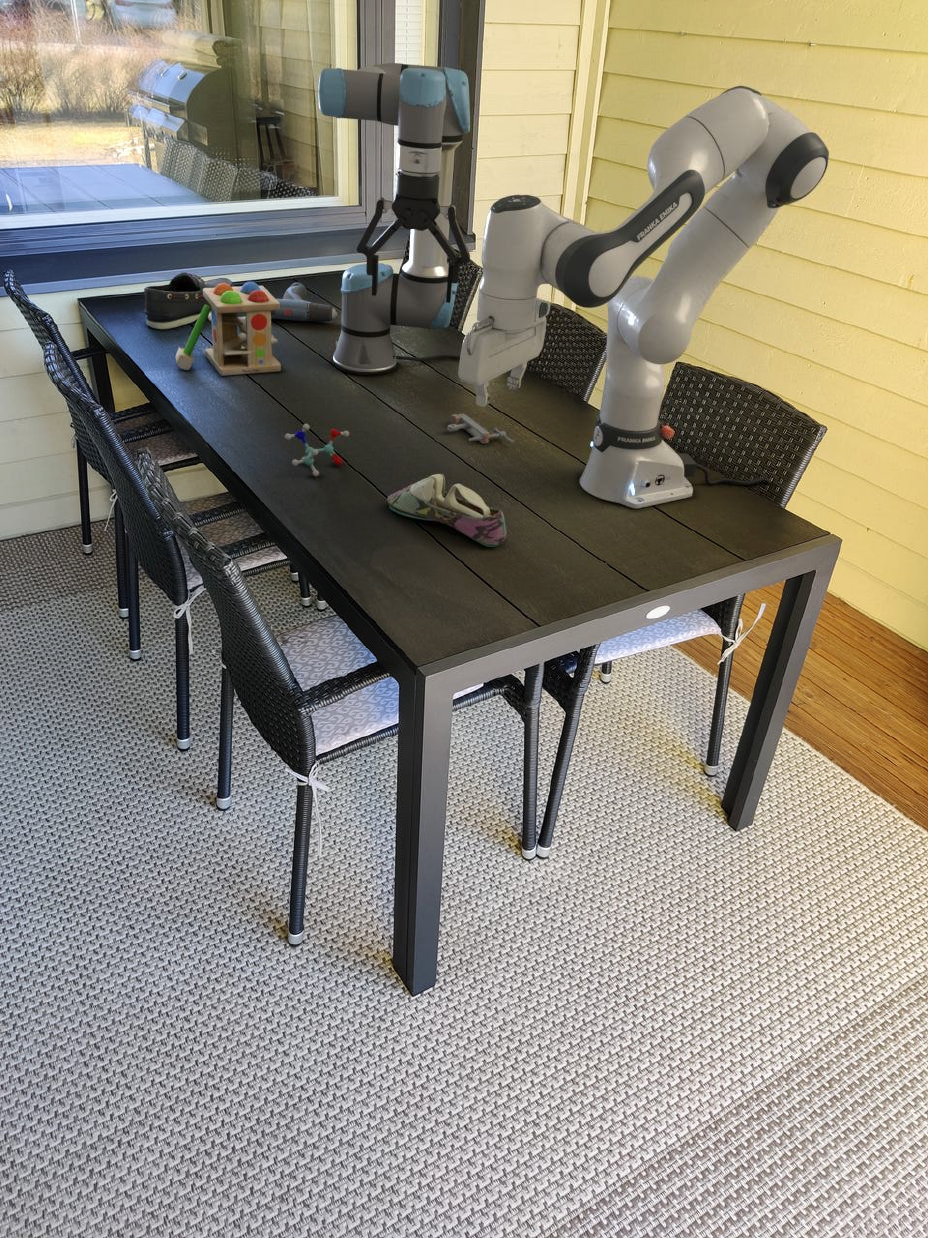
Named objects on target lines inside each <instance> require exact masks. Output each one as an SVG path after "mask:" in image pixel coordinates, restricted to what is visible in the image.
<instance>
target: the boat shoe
mask: <svg viewBox="0 0 928 1238" xmlns="http://www.w3.org/2000/svg"><path fill="white" fill-rule="evenodd" d="M221 283H226V284H228V285H230V286H231V287H236V286H235V284H234V283H233V281H232V280H231V279H229V278H226V277H218V278H213V279H209V280H204V279H203V278H201V277H200V276H198V275H196V274H193V273H188V272H186V271H185V272H184V271H183V272H180V273H178V274H176V275H175V276H173V277H172V278H171V280H170V281H169V283H168V284H162V285H148V286H145V287H144V288H143V293H144V310H143V313H144V314H146V317H145V318H146V319H145V320H146V325H147V327H150V328H153V329H155V330H156V329H157V330H168V329H173V328H177V327H180V326H184V325H187V324H191V323H193V322H195V321H197V320H198V318H199V316H200V314H201V311H202V309H203V307H204V305H208V306H210V307H211V305H210V304H209V302H208V301H207V300H206V299H205V297H204V296H203V289H204V288H215V287H216V286H217V285H218V284H221ZM209 314H211V310H210V312H209Z"/></svg>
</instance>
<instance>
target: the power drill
mask: <svg viewBox="0 0 928 1238" xmlns="http://www.w3.org/2000/svg"><path fill="white" fill-rule="evenodd" d="M307 295H308V290H307V287H306V285H304V284H303V283H301V282H293V283H292V284H291V285H290V286H289V287H288V288H287V289H286V291H285V292H284V294H283V297H282V298H275V299H276V300H277V301H278V302H279V303H280V310H271V319H274V320H275V319H276V320H283V321H294V322H295V321H297V322H332V321H333V320H334V319H336V318H337V317H338V312H337V311H336V308H334V307H333V306H332V305H331V304H324V303H317V302H313V301H307V300H305V299H306V297H307Z"/></svg>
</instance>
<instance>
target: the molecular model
mask: <svg viewBox="0 0 928 1238" xmlns="http://www.w3.org/2000/svg"><path fill="white" fill-rule="evenodd" d="M309 430H310V425H309V424H308V423H304V424H303V425H302V429H301V430H297V432H296V433H292V434H290V433H285V435H284V438H285V440H287V441H290V440H291V439H293V438H297V439H298V440H301V442H302V443H303V445H304V447H305V450H304V452H305V453H304V454H305V456H302V457H301V458H300V459H299V460H298V459H296V458H295V459H293V460H291V465H292V466H293V467H297V466H298V465H299V464H304V465H306V466H309V467H310V469H311V471H312V475H313V476H314V477H318V476H320V472H319V470H318V469H316V468H315V466H314V462H315V459H314V457H316V456H317V455H319V453H323V452H324V453H325V454H327V455H329V456H330V458H331V459H332V460H333V461H334V465H336V466H338V467H339V466H342V464H343V458H341V457H339V456H338V455H337V453H336V452H335V450H334V446H333V443H334V440H335V438H337V437H338V436H343V437H345V438H348V437H349V436H350V432H349V430H344V431H338V429H336V428H332V429H331V430H330V432H329V435H330V436H331V437H330V439H329V443H327V444H326V445H324V447H323V448H314V447H312V446H309V444H308V442H307V440H306V432H307V431H309Z"/></svg>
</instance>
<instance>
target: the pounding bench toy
mask: <svg viewBox="0 0 928 1238" xmlns="http://www.w3.org/2000/svg"><path fill="white" fill-rule="evenodd" d="M203 296H204V297H205V299H206V300H207V301H208V302H209V304H210V305H211V307H210V306H208V305H204V307H203V309H202V311H201V314H200V316H199V318H198V319H196V322H195V324H194V327H193V329H192V331H191V332H190V333H191V334H190V336H189V338H188V340H187V343H186V344H185V347H184V348H182V347H180V346H179V347H178V349H177V351H176V354H175V357H174V358H175V362H176V365H177V366H178V368H179V369H182V370H185V371H189V370H190V369H191V367H192V365H193V363H194V356H193V351H194V348H195V347H196V345H197V342H198V340H199V337H200V336H201V333H202V332H203V329H204V326H205V325H206V322H207V320H209V321H210V322H211V336H212V337H211V338H212V339H211V340H212V348H205V349H204V352H205V353H204V355H205V357H206V359H208V361H209V363H210V364H211V365H212V366H213V367H214V369H215V370H216V371H217V372H218V374H219V375H220V376H222V377H223V376H234V375H235V376H236V375H246V374H247V375H250V374H262V373H275V372H281V370H282V364H281V363H280V362H279V360H278V359H277V358H276V357H275V356H274V355H273V348H272V347H273V345H272V344H276V343H278V342H279V341H278V339H277V338H276V337H275V336H274V334H272V318H271V310H280V303H279V302H278V301H277V300H276V299H277V298H276V297H274V296H273V295H272V294H271V293H270V292H269V290H268V289H267V288H266V287H264V285H259V284H257V283H256V282H255V281H247V282H245V283H244V284H243V285H242V286H235V287H231V286H230V285H228V284H226V283H221V284H218V285H217V286H216V287H215V288H204V289H203ZM210 310H211V314H209V312H210ZM238 313H244V314H245V315H244V316H238ZM238 329H239V331H240V333H239V334H238Z"/></svg>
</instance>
